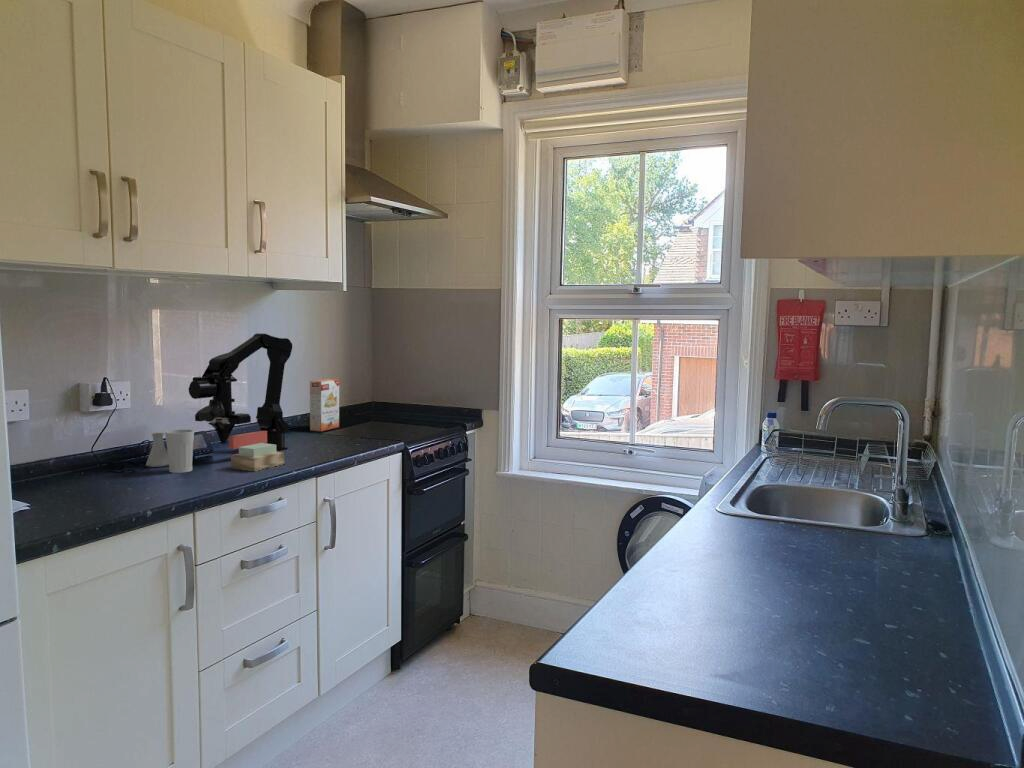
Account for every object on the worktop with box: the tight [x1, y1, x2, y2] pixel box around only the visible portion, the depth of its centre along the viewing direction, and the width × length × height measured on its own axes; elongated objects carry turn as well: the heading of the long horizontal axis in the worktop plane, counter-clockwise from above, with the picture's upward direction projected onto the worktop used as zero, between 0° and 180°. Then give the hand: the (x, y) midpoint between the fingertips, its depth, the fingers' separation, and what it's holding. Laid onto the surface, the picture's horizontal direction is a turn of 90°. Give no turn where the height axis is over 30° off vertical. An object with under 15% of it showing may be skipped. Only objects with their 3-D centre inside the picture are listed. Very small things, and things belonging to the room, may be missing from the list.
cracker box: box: [309, 378, 340, 433], centre depth 296 cm, size 14×6×21 cm, turn 162°
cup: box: [164, 428, 195, 474], centre depth 212 cm, size 8×8×12 cm
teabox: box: [230, 450, 285, 472], centre depth 220 cm, size 12×10×4 cm
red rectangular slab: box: [228, 430, 267, 450], centre depth 232 cm, size 14×2×7 cm, turn 152°
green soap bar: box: [238, 443, 276, 457], centre depth 219 cm, size 9×6×2 cm
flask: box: [145, 432, 169, 468], centre depth 220 cm, size 7×7×10 cm
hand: (223, 443), depth 230 cm, fingers closed
